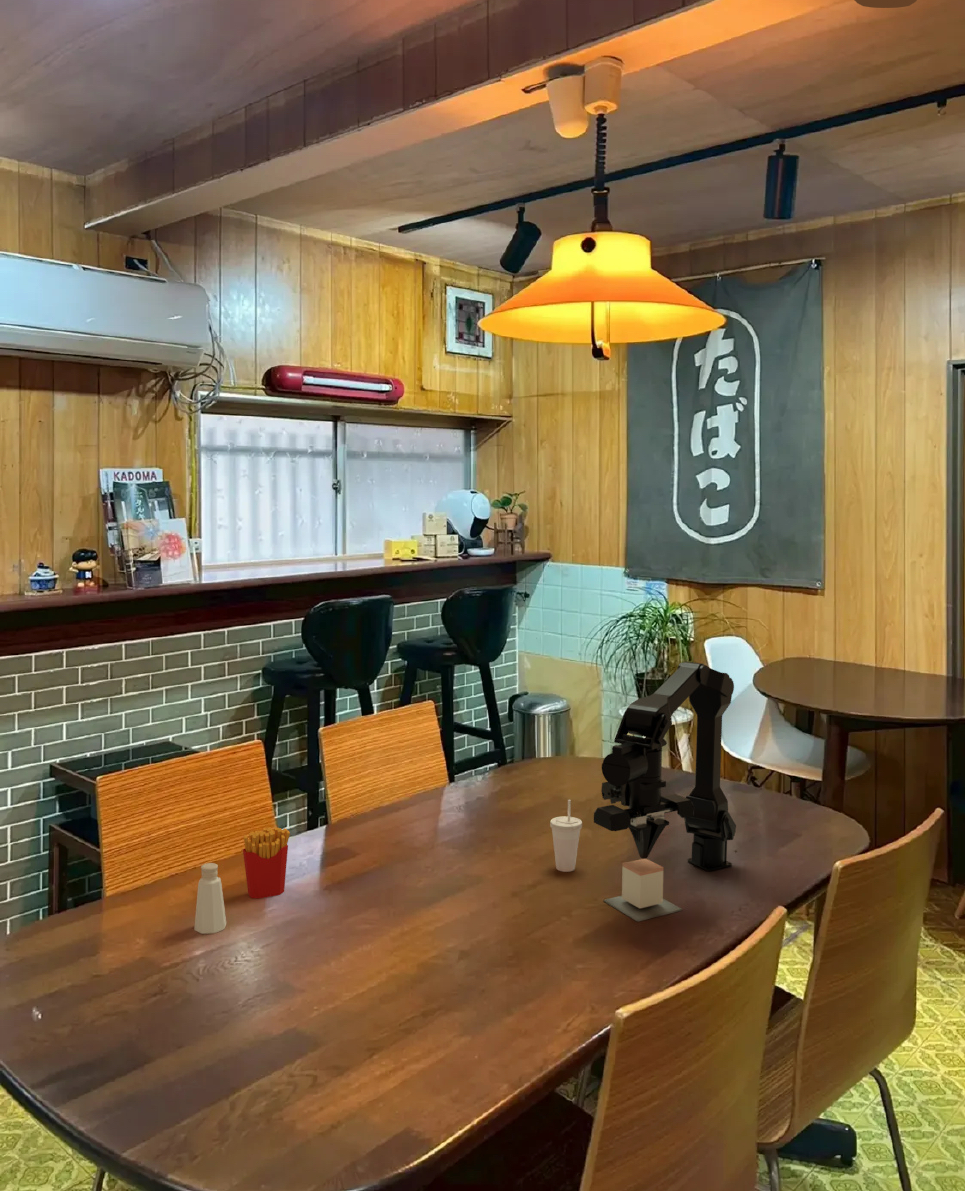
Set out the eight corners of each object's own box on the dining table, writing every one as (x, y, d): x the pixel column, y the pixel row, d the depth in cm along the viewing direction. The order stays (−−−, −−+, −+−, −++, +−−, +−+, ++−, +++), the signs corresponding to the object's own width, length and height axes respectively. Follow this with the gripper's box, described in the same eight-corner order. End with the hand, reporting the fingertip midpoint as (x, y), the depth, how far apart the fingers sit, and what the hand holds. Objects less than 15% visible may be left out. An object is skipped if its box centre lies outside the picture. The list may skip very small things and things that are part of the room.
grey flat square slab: (646, 891, 186) (647, 855, 186) (681, 910, 178) (682, 872, 177) (603, 901, 181) (604, 864, 181) (637, 921, 173) (638, 882, 172)
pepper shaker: (197, 936, 166) (196, 873, 165) (191, 924, 171) (189, 862, 170) (230, 930, 168) (229, 867, 167) (222, 918, 173) (221, 857, 172)
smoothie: (579, 875, 194) (580, 805, 193) (547, 872, 195) (548, 803, 194) (583, 863, 200) (584, 796, 199) (551, 861, 201) (552, 794, 200)
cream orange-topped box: (644, 892, 183) (645, 858, 182) (662, 902, 178) (663, 867, 178) (621, 898, 180) (622, 863, 180) (639, 908, 176) (640, 872, 175)
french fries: (247, 900, 181) (246, 837, 180) (242, 893, 184) (241, 830, 183) (292, 892, 185) (291, 830, 184) (286, 885, 188) (285, 823, 187)
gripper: (657, 756, 189) (655, 836, 190) (576, 769, 180) (575, 852, 181) (696, 771, 179) (694, 854, 181) (613, 785, 170) (611, 872, 172)
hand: (643, 857), depth 179 cm, fingers closed
